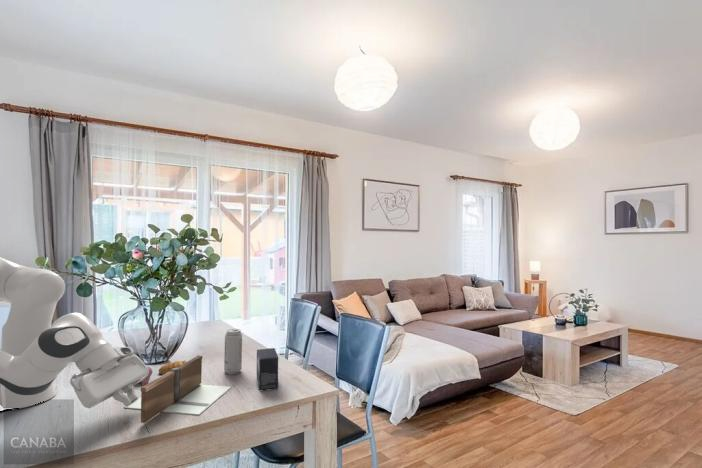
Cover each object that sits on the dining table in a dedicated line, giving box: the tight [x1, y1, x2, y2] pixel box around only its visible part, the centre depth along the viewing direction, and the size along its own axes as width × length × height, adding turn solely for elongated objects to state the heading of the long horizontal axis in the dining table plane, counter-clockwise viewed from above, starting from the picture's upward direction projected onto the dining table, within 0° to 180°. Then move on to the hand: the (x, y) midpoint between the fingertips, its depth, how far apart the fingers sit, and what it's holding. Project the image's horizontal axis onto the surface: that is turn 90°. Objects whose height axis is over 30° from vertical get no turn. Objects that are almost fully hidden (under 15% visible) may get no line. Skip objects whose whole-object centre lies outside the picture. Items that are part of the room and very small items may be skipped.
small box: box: [256, 347, 279, 391], centre depth 126 cm, size 11×6×10 cm, turn 19°
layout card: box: [123, 383, 232, 416], centre depth 114 cm, size 23×19×1 cm
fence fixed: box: [171, 355, 203, 403], centre depth 116 cm, size 2×14×10 cm, turn 171°
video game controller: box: [137, 365, 153, 387], centre depth 125 cm, size 10×5×7 cm, turn 92°
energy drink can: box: [223, 328, 243, 375], centre depth 136 cm, size 6×6×15 cm
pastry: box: [158, 360, 187, 375], centre depth 135 cm, size 9×7×4 cm
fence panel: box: [140, 371, 175, 424], centre depth 103 cm, size 2×12×9 cm, turn 171°
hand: (132, 403), depth 100 cm, fingers closed
